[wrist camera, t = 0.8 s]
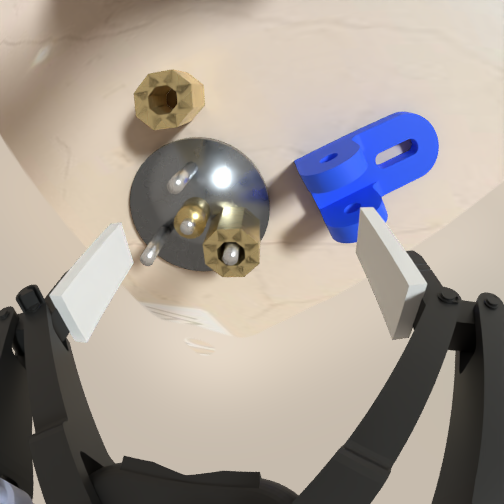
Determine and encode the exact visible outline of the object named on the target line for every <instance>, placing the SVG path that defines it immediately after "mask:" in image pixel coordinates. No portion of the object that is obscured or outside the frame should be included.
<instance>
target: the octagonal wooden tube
mask: <svg viewBox="0 0 504 504" xmlns="http://www.w3.org/2000/svg"><path fill="white" fill-rule="evenodd" d="M171 89H173V90H175V91H176V92H177V105H176V106H175V108H174V109H172V108H171V107H169V106H168V105H167V96H166V95H167V94H168V92H169V91H170V90H171ZM134 100H135V110H136V117H137V118H139V119H140V120H141V121H143V122H144V123H145V124H146V125H148V126H149V127H150V128H151V129H153V130H160V129H167V128H176V127H179V126H181V125H184V124H186V123H188V122H191V121H192V120H193V118H194V117H195V116H196V115H197V114H198V113H199V111H200V110H201V109H202V108H203V107H204V106H205V100H204V85H203V84H201V83H200V82H199V81H198V80H196V79H195V78H194V77H192V76H191V75H190V74H189V73H186V72H182V71H177V70H167V71H161V72H156V73H151V74H148V75H147V77H146V78H145V79H144V80H143V82H142V83H141V84H140V86H139V87H138V88H137V90H136V91H135V93H134Z"/></svg>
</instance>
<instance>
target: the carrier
mask: <svg viewBox="0 0 504 504" xmlns="http://www.w3.org/2000/svg"><path fill="white" fill-rule="evenodd" d="M130 208H131V214H132V218H133V221H134V224H135V226H136V229H137V231H138V233H139V234H140V236H141V238H142V239H143V240H144V242H145V243H146V244H147V245H148V246H147V247H146V249H145V250H144V252H143V253H142V255H141V256H140V261H141V263H142V264H143V265H145V266H150V265H152V264H153V262H154V260H155V258H156V257H157V255H158V256H160V257H161V258H163V259H164V260H166V261H168V262H169V263H171V264H173V265H176V266H179V267H181V268H185V269H189V270H195V271H215V272H216V273H218V274H219V275H220V276H222V277H245V276H246V275H247V274H248V273H249V272H250V271H251V270H253V269H254V268H255V267H256V266H257V265H258V264H259V260H260V241H261V240H262V238H263V236H264V234H265V231H266V228H267V225H268V220H269V196H268V191H267V187H266V185H265V182H264V180H263V177H262V176H261V174H260V172H259V170H258V169H257V168H256V166H255V165H254V164H253V162H252V161H251V160H250V159H249V158H248V157H247V156H246V155H244V154H243V153H242V152H240V151H239V150H238V149H236V148H234V147H232V146H231V145H229V144H226V143H224V142H221V141H219V140H215V139H211V138H202V137H192V138H185V139H180V140H177V141H174V142H171V143H169V144H167V145H165V146H163V147H161V148H160V149H158V150H157V151H155V152H154V153H153V154H152V155H150V156H149V157H148V158H147V159H146V160H145V162H144V163H143V164H142V165H141V167H140V168H139V170H138V172H137V173H136V176H135V178H134V181H133V184H132V188H131V194H130Z"/></svg>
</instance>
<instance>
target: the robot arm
mask: <svg viewBox="0 0 504 504" xmlns="http://www.w3.org/2000/svg"><path fill="white" fill-rule="evenodd" d="M356 254H357V256H358V258H359V260H360V263H361V265H362V267H363V269H364V272H365V274H366V276H367V278H368V281H369V283H370V285H371V288H372V290H373V292H374V295H375V297H376V300H377V302H378V304H379V307H380V309H381V311H382V314H383V317H384V319H385V322H386V324H387V327H388V329H389V332H390V335H391V337H392V340H396V339H402V338H409V336H410V333H411V331H412V328H414V332H413V334H412V337H411V338H410V340H409V342H408V344H407V346H406V348H405V350H404V352H403V354H402V356H401V358H400V359H399V361H398V363H397V365H396V367H395V368H394V370H393V372H392V374H391V375H390V377H389V379H388V381H387V382H386V384H385V386H384V387H383V389H382V390H381V392H380V394H379V395H378V397H377V398H376V400H375V401H374V403H373V405H372V406H371V408H370V409H369V411H368V412H367V414H366V415H365V417H364V418H363V420H362V421H361V422H360V424H359V425H358V427H357V428H356V430H355V431H354V432H353V434H352V435H351V436H350V438H349V439H348V440H347V442H346V443H345V444H344V445H343V446H342V447H341V448H340V449H339V450H338V451H337V452H336V453H335V455H334V456H333V457H332V458H331V460H330V461H329V462H328V463H327V464H326V466H325V467H324V468H323V469H322V470H321V472H320V473H319V474H318V475H317V476H316V477H315V478H314V480H313V481H312V482H311V483H310V484H309V485H308V486H307V488H305V490H304V491H303V492H302V493H301V494H300V495H297V494H296V493H295V492H293V491H292V490H290V489H288V488H287V487H285V486H283V485H281V484H279V483H276V482H273V481H270V480H266V479H262V478H261V475H260V472H236V471H219V472H212V473H204V474H196V475H183V474H180V473H178V472H175V471H173V470H170V469H168V468H166V467H163V466H161V465H159V464H156V463H154V462H150V461H145V460H140V459H135V458H131V457H127V456H124V457H123V461H122V463H117V464H115V463H114V462H113V460H112V459H111V458H110V456H109V455H108V453H107V451H106V449H105V446H104V444H103V442H102V439H101V437H100V434H99V432H98V430H97V427H96V425H95V422H94V419H93V417H92V414H91V412H90V409H89V406H88V403H87V400H86V397H85V394H84V391H83V389H82V385H81V382H80V379H79V375H78V372H77V369H76V365H75V362H74V358H73V354H72V351H71V346H70V343H69V341H68V339H67V338H66V337H67V335H68V333H69V332H70V334H71V335H72V337H73V338H74V340H75V341H79V342H86V343H87V342H88V340H89V338H90V336H91V335H92V333H93V331H94V329H95V327H96V325H97V324H98V322H99V320H100V318H101V316H102V315H103V313H104V311H105V309H106V308H107V306H108V304H109V303H110V301H111V299H112V297H113V296H114V294H115V293H116V291H117V289H118V287H119V286H120V284H121V283H122V281H123V279H124V278H125V276H126V274H127V273H128V271H129V270H130V268H131V266H132V265H133V263H134V262H133V259H132V256H131V253H130V250H129V246H128V243H127V240H126V237H125V233H124V230H123V226H122V223H121V222H120V223H111V224H110V225H109V226H108V227H107V228H106V229H105V230H104V231H103V232H102V233H101V234H100V235H99V236H98V238H97V239H96V240H95V241H94V242H93V243H92V244H91V245H90V246H89V248H88V249H87V250H86V251H85V252H84V253H83V254H82V256H81V257H80V258H79V259H78V260H77V261H76V263H75V264H74V265H73V266H72V267H71V269H70V270H68V271H67V272H66V273H65V274H64V275H63V276H62V277H61V279H60V280H59V281H58V282H57V284H56V285H55V286H54V288H53V289H52V290H51V291H50V292H49V294H48V295H47V296H46V298H45V299H44V298H43V296H42V294H41V292H40V290H39V288H38V286H37V285H30V286H27V287H25V288H24V289H22V290H21V291H20V292H19V293H18V295H17V296H16V301H17V302H18V304H19V306H20V307H21V309H22V311H23V313H21V314H17V313H16V312H15V310H14V308H13V307H11V306H10V307H6V308H3V309H2V310H1V311H0V504H33V502H32V498H33V464H32V459H33V463H34V467H35V471H36V474H37V477H38V481H39V484H40V487H41V490H42V494H43V497H44V499H45V502H46V504H370V503H371V502H372V501H373V499H374V498H375V496H376V495H377V493H378V492H379V491H380V489H381V488H382V486H383V485H384V483H385V482H386V480H387V478H388V476H389V474H390V472H391V468H392V466H393V464H394V462H395V461H396V459H397V457H398V456H399V454H400V452H401V450H402V449H403V447H404V445H405V443H406V442H407V440H408V438H409V436H410V434H411V432H412V431H413V429H414V427H415V425H416V423H417V421H418V419H419V417H420V415H421V413H422V411H423V409H424V406H425V404H426V402H427V400H428V398H429V395H430V393H431V391H432V388H433V386H434V384H435V381H436V379H437V376H438V374H439V371H440V369H441V366H442V363H443V361H444V358H445V355H446V353H447V350H455V351H456V355H455V356H456V357H455V378H454V392H453V401H452V410H451V418H450V425H449V431H448V437H447V443H446V448H445V453H444V458H443V463H442V467H441V471H440V476H439V479H438V483H437V487H436V490H435V494H434V497H433V501H432V504H504V304H503V302H502V301H501V300H500V298H498V297H497V296H496V295H494V294H491V293H482V294H480V295H479V297H478V298H477V301H476V302H469V301H463V300H461V297H460V296H459V294H458V293H457V292H455V291H454V290H452V289H450V288H447V287H443V286H442V285H441V283H440V282H439V280H438V279H437V277H436V276H435V275H434V273H433V272H432V270H430V267H429V266H428V265H427V263H426V262H425V260H424V259H423V258H422V256H420V255H419V254H418V253H416V252H415V251H405V249H404V248H403V246H402V245H401V244H400V242H399V241H398V239H397V238H396V237H395V235H394V234H393V232H392V231H391V230H390V228H389V227H388V226H387V224H386V223H385V222H384V220H383V219H382V218H381V216H380V215H379V214H378V212H377V211H376V210H375V209H374V207H360V214H359V226H358V237H357V247H356ZM12 348H13V349H14V351H15V355H14V354H13V352H12ZM32 416H33V422H34V427H35V434H33V435H32Z"/></svg>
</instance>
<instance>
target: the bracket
mask: <svg viewBox="0 0 504 504" xmlns="http://www.w3.org/2000/svg"><path fill="white" fill-rule="evenodd" d="M408 139H410V140H411V143H412V145H411V148H410V150H408V151H407V152H405V153H402V154H400V155H398V156H396V157H394V158H392V159H390V160H388V161H386V162H384V163H382V164H379V165H376V162H375V158H376V156H377V154H379V153H380V152H382V151H384V150H386V149H389V148H391V147H393V146H395V145H397V144H399V143H401V142H403V141H406V140H408ZM438 149H439V144H438V138H437V134H436V132H435V130H434V128H433V126H432V125H431V124H430V123H429V122H428V121H427V120H426V119H425V118H423V117H422V116H420V115H417V114H413V113H409V112H397V113H394V114H391V115H389V116H387V117H385V118H382V119H380V120H378V121H376V122H373V123H371V124H369V125H367V126H365V127H363V128H360V129H358V130H356V131H354V132H352V133H350V134H348V135H346V136H343V137H341V138H339V139H337V140H335V141H333V142H331V143H329V144H327V145H325V146H323V147H321V148H319V149H317V150H315V151H313V152H311V153H309V154H307V155H305V156H303V157H301V158H299V159H297V160H295V161H294V162H295V165H296V167H297V170H298V172H299V174H300V176H301V178H302V180H303V182H304V183H305V185H306V187H307V189H308V191H309V192H311V194H312V196H313V198H314V200H315V202H316V204H317V206H318V208H319V210H320V212H321V214H322V217H323V219H324V222H325V224H326V226H327V228H328V230H329V232H330V234H331V236H332V238H333V239H334V240H335V241H337V242H340V243H354V242H357V237H358V226H359V214H360V207H374V209H375V210H376V211H377V212H378V214H379V215H380V216H381V218H382V219H383V220H384V222H385V223H386V221H387V217H388V215H387V211H386V209H385V206H384V203H383V201H382V198H381V197H382V196H384V195H385V194H387V193H389V192H391V191H393V190H395V189H397V188H400V187H402V186H404V185H406V184H408V183H410V182H412V181H414V180H416V179H418V178H420V177H422V176H423V175H425V174H426V173H427V172H429V170H430V169H431V168H432V167H433V165H434V163H435V161H436V159H437V155H438Z"/></svg>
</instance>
